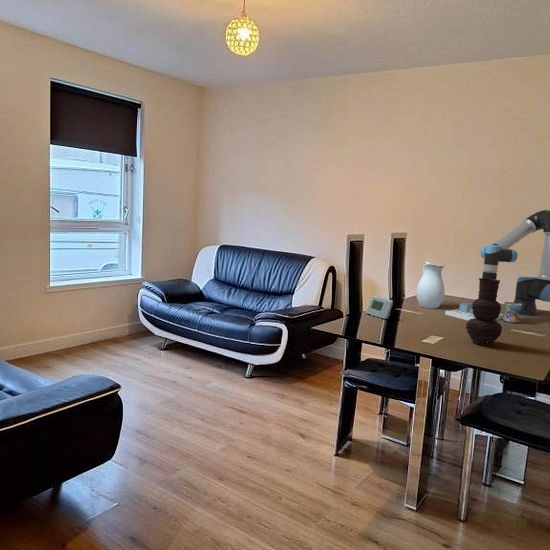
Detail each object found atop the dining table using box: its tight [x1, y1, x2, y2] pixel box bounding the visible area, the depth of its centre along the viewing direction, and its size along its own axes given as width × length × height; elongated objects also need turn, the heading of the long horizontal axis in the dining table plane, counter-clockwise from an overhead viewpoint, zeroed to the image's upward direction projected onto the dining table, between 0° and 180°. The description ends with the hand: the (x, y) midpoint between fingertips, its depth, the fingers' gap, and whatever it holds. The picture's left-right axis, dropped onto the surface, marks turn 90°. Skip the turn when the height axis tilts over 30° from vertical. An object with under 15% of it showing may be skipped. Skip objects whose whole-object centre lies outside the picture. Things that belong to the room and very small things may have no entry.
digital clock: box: [365, 295, 394, 320], centre depth 271 cm, size 16×9×11 cm, turn 20°
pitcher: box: [415, 261, 446, 309], centre depth 313 cm, size 24×17×28 cm
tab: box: [458, 302, 472, 312], centre depth 291 cm, size 4×5×5 cm
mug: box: [502, 301, 522, 324], centre depth 280 cm, size 12×9×11 cm
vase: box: [465, 277, 503, 346], centre depth 225 cm, size 15×15×30 cm
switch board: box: [444, 307, 505, 322], centre depth 289 cm, size 30×20×3 cm, turn 122°
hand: (485, 312), depth 285 cm, fingers closed
